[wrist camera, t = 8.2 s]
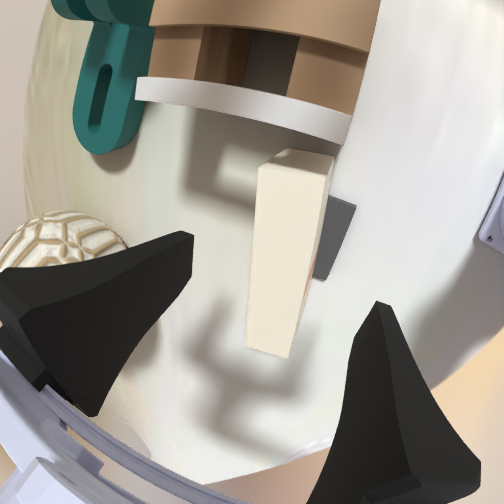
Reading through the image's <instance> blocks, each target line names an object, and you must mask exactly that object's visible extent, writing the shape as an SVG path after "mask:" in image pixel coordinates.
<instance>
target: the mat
mask: <svg viewBox="0 0 504 504" xmlns="http://www.w3.org/2000/svg"><path fill="white" fill-rule="evenodd" d="M355 210H356V205H354V204H351V203H349V202H346V201H343V200H341V199H338V198H335V197H332V196H330V195H328V200H327V205H326V211H325V216H324V221H323V226H322V231H321V236H320V241H319V246H318V251H317V256H316V260H315V265H314V270H313V274H312V275H314V276H317V277H319V278H322V279H325V280H326V279H327V277H328V275H329V272H330V270H331V268H332V266H333V263H334V261H335V259H336V256H337V254H338V252H339V249H340V247H341V245H342V242H343V240H344V237H345V235H346V232H347V230H348V227H349V225H350V222H351V220H352V217H353V215H354V212H355Z"/></svg>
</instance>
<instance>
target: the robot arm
mask: <svg viewBox="0 0 504 504" xmlns="http://www.w3.org/2000/svg"><path fill="white" fill-rule="evenodd" d="M490 235H491V238H490V239H489V240H487V238H488V237H489V236H490ZM478 237H479V239H480V241H481V242H483V243H485V244H486V245H488V246H490V247H492V248H494V249H495V250H497V251H499V252H500V253H502V254H504V177H503V180H502V182H501V185H500V187H499V190H498V192H497V195H496V197H495V199H494V201H493V204H492V206H491V208H490V210H489V212H488V214H487V216H486V219H485V221H484V223H483V225H482V227H481V229H480V231H479V233H478ZM193 246H194V235H192V234H190V233H187V232H184V231H177V232H173V233H170V234H167V235H165V236H162V237H159V238H156V239H153V240H151V241H148V242H145V243H142V244H139V245H137V246H134V247H131V248H128V249H124V250H121V251H118V252H115V253H112V254H109V255H105V256H102V257H98V258H93V259H89V260H85V261H80V262H74V263H68V264H62V265H54V266H42V267H7V268H5V269H4V270H2V271H1V272H0V321H1V323H2V324H3V325H2V326H1V327H0V443H1V445H2V446H3V448H4V449H5V450H6V452H7V453H8V455H9V456H10V457H11V459H12V460H13V462H14V463H15V464H16V466H17V467H16V468H15V470H14V471H13V472H12V474H11V475H10V477H9V478H8V479H7V481H6V482H5V483H4V485H3V486H2V488H1V489H0V504H149V503H147V502H145V501H143V500H141V499H140V498H138V497H136V496H134V495H132V494H131V493H129V492H127V491H126V490H124V489H122V488H121V487H119V486H118V485H116V484H114V483H113V482H111V481H110V480H108V479H107V478H105V477H104V476H102V475H101V474H99V471H100V469H101V468H102V467H103V465H104V463H103V462H102V461H101V460H100V459H98V458H97V457H96V456H94V455H93V454H92V453H91V452H90V451H88V450H87V449H86V448H85V447H84V446H83V445H81V444H80V443H79V442H78V441H76V440H75V439H74V438H72V436H70V435H69V434H68V433H67V426H69V427H70V428H71V429H72V430H73V431H74V432H76V433H77V434H78V435H79V436H81V437H82V438H83V439H84V440H86V441H87V442H88V443H90V444H91V445H92V446H94V447H95V448H96V449H98V450H99V451H101V452H102V453H103V454H105V455H106V456H108V457H109V458H111V459H112V460H114V461H115V462H117V463H118V464H120V465H122V466H123V467H125V468H126V469H128V470H130V471H131V472H133V473H134V474H136V475H138V476H139V477H141V478H143V479H145V480H146V481H148V482H150V483H152V484H154V485H155V486H157V487H159V488H161V489H163V490H165V491H167V492H169V493H171V494H173V495H175V496H177V497H179V498H181V499H184V500H186V501H188V502H190V503H192V504H251V503H248V502H245V501H242V500H239V499H236V498H233V497H231V496H228V495H225V494H223V493H220V492H217V491H215V490H212V489H210V488H208V487H205V486H203V485H201V484H198V483H196V482H194V481H191V480H189V479H187V478H185V477H183V476H181V475H179V474H177V473H175V472H173V471H171V470H169V469H167V468H165V467H163V466H161V465H159V464H157V463H156V462H154V461H152V460H150V459H148V458H147V457H145V456H143V455H141V454H140V453H138V452H136V451H134V450H133V449H131V448H130V447H128V446H127V445H125V444H124V443H122V442H120V441H119V440H117V439H116V438H114V437H113V436H111V435H110V434H109V433H107V432H106V431H104V430H103V429H101V428H100V427H99V426H97V425H96V424H94V423H93V422H92V421H90V420H89V419H88V418H86V417H85V416H84V415H83V414H81V413H80V412H79V411H78V410H76V409H75V408H74V407H72V406H71V405H70V404H69V403H71V404H72V405H74V406H75V407H76V408H78V409H79V410H80V411H81V412H83V413H84V414H85V415H87V416H88V417H95V416H97V415H98V413H99V411H100V409H101V407H102V405H103V402H104V400H105V398H106V396H107V394H108V392H109V390H110V389H111V387H112V385H113V383H114V381H115V380H116V378H117V376H118V374H119V372H120V371H121V369H122V368H123V366H124V364H125V363H126V361H127V359H128V358H129V356H130V355H131V353H132V352H133V350H134V349H135V347H136V346H137V344H138V343H139V341H140V340H141V339H142V337H143V336H144V335H145V334H146V332H147V331H148V330H149V329H150V328H151V327H152V325H153V324H154V323H155V322H156V321H157V320H158V319H159V317H160V316H161V315H162V314H163V313H164V312H165V311H166V310H167V308H168V307H169V306H170V305H171V304H172V303H173V302H174V300H175V299H176V298H177V297H178V296H179V294H180V293H181V291H182V290H183V289H184V287H185V286H186V284H187V282H188V281H189V279H190V278H191V276H192V261H193ZM66 400H67V401H68V402H69V403H68V402H67V401H66ZM66 425H67V426H66ZM480 481H481V461H480V460H479V459H478V458H477V457H476V456H475V455H474V453H472V451H471V450H470V449H469V448H468V447H467V445H466V444H465V443H464V442H463V441H462V439H461V438H460V437H459V435H458V434H457V433H456V431H455V430H454V429H453V427H452V426H451V424H450V423H449V421H448V420H447V418H446V417H445V415H444V414H443V412H442V411H441V409H440V408H439V406H438V405H437V403H436V401H435V399H434V397H433V396H432V394H431V392H430V390H429V388H428V387H427V385H426V383H425V381H424V379H423V377H422V375H421V373H420V371H419V369H418V367H417V364H416V362H415V360H414V358H413V356H412V354H411V351H410V349H409V347H408V344H407V342H406V340H405V337H404V335H403V333H402V330H401V328H400V325H399V323H398V321H397V318H396V316H395V314H394V311H393V309H392V307H391V306H390V305H387V304H384V303H381V302H379V301H376V302H375V304H374V306H373V307H372V309H371V311H370V312H369V314H368V316H367V317H366V319H365V321H364V322H363V324H362V325H361V327H360V329H359V330H358V332H357V333H356V335H355V337H354V340H353V344H352V348H351V352H350V357H349V361H348V369H347V377H346V384H345V391H344V398H343V405H342V411H341V415H340V420H339V424H338V427H337V430H336V433H335V437H334V440H333V443H332V446H331V448H330V451H329V454H328V457H327V459H326V462H325V464H324V467H323V469H322V472H321V474H320V476H319V479H318V481H317V483H316V485H315V487H314V490H313V491H312V493H311V495H310V497H309V499H308V501H307V503H306V504H447V503H450V502H453V501H455V500H458V499H461V498H464V497H466V496H468V495H470V494H472V493H474V492H475V491H476V490H477V489H478V488H479V487H480Z"/></svg>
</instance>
